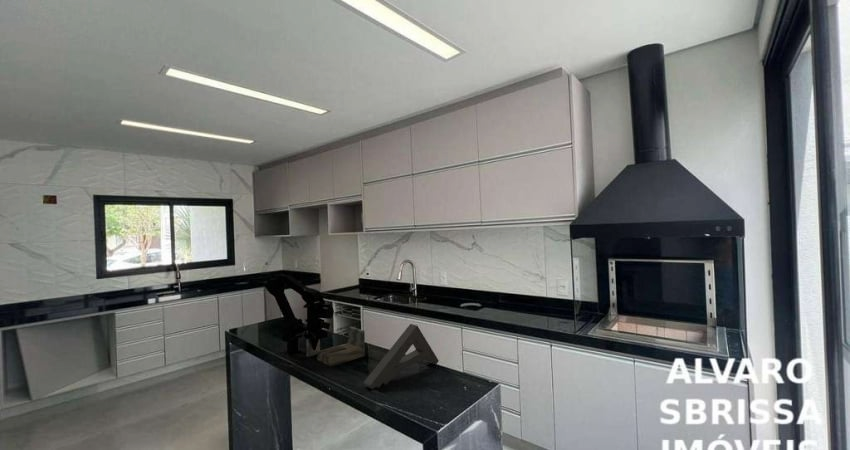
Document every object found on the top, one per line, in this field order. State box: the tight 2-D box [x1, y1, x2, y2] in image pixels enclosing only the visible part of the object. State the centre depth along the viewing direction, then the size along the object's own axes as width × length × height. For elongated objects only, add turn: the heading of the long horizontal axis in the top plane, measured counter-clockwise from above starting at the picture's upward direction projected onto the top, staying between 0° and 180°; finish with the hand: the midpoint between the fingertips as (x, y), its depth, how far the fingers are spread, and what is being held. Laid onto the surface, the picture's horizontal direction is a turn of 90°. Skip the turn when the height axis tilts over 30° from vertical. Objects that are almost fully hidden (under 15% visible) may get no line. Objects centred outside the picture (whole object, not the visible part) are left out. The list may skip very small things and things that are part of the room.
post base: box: [316, 325, 366, 368], centre depth 161 cm, size 12×18×12 cm, turn 135°
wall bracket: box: [362, 323, 440, 390], centre depth 141 cm, size 22×4×30 cm
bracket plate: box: [305, 338, 321, 358], centre depth 166 cm, size 2×6×8 cm, turn 135°
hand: (313, 349), depth 166 cm, fingers closed on bracket plate, 2 cm apart
